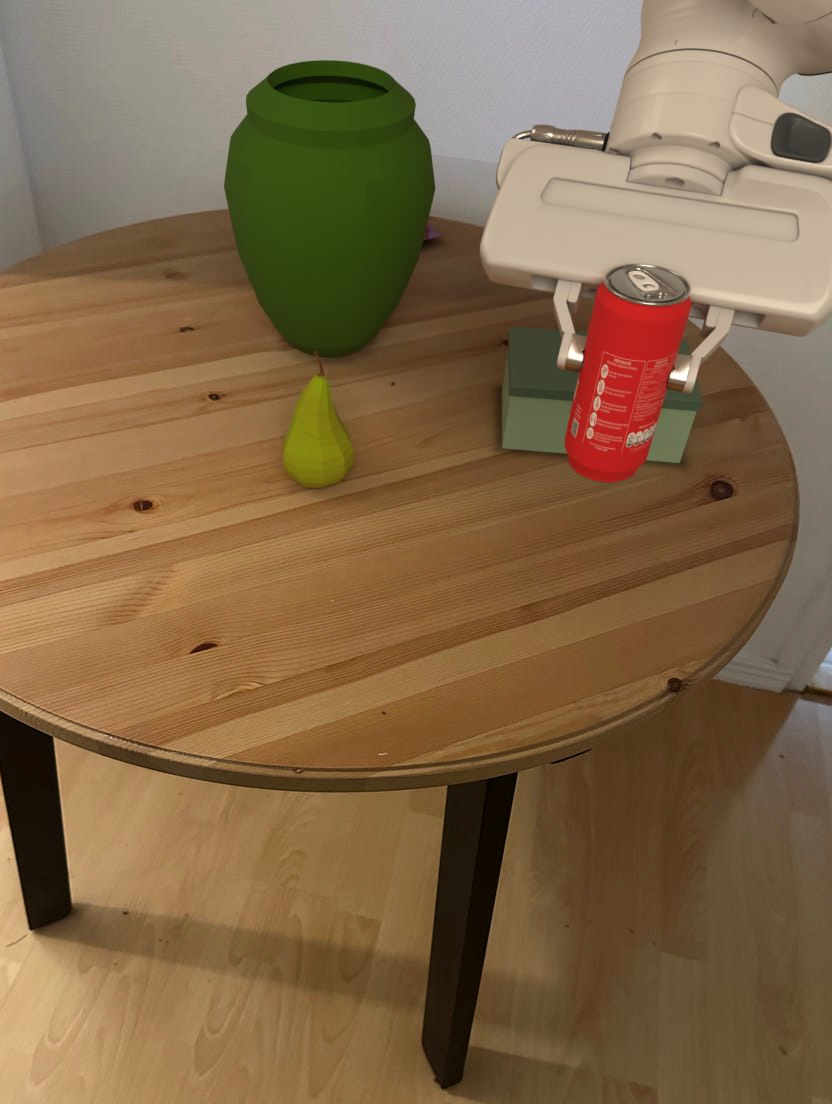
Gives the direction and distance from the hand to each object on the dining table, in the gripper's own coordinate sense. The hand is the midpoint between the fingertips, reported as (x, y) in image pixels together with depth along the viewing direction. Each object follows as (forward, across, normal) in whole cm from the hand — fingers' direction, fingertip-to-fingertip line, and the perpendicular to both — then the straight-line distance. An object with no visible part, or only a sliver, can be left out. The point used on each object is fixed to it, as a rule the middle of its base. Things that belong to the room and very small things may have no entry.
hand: (623, 379), depth 58 cm
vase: (-9, -31, +40) cm, 51 cm away
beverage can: (+4, 0, +5) cm, 7 cm away
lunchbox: (-5, -3, +35) cm, 36 cm away
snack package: (-28, -32, +59) cm, 73 cm away
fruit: (+7, -23, +23) cm, 34 cm away
